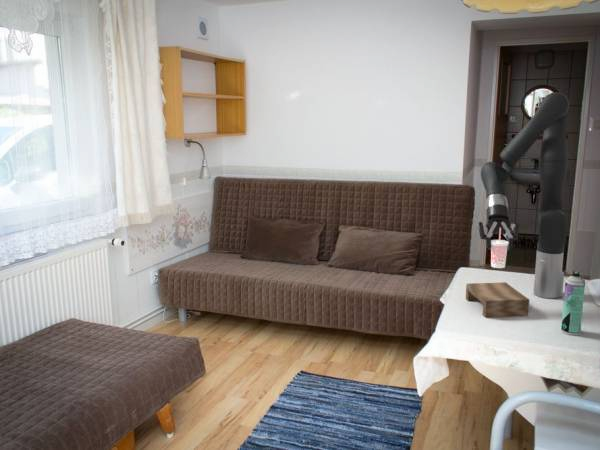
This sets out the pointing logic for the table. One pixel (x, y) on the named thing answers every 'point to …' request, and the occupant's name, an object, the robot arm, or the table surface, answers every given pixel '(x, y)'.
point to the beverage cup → (498, 252)
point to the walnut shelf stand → (498, 299)
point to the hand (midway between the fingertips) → (499, 248)
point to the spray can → (573, 304)
